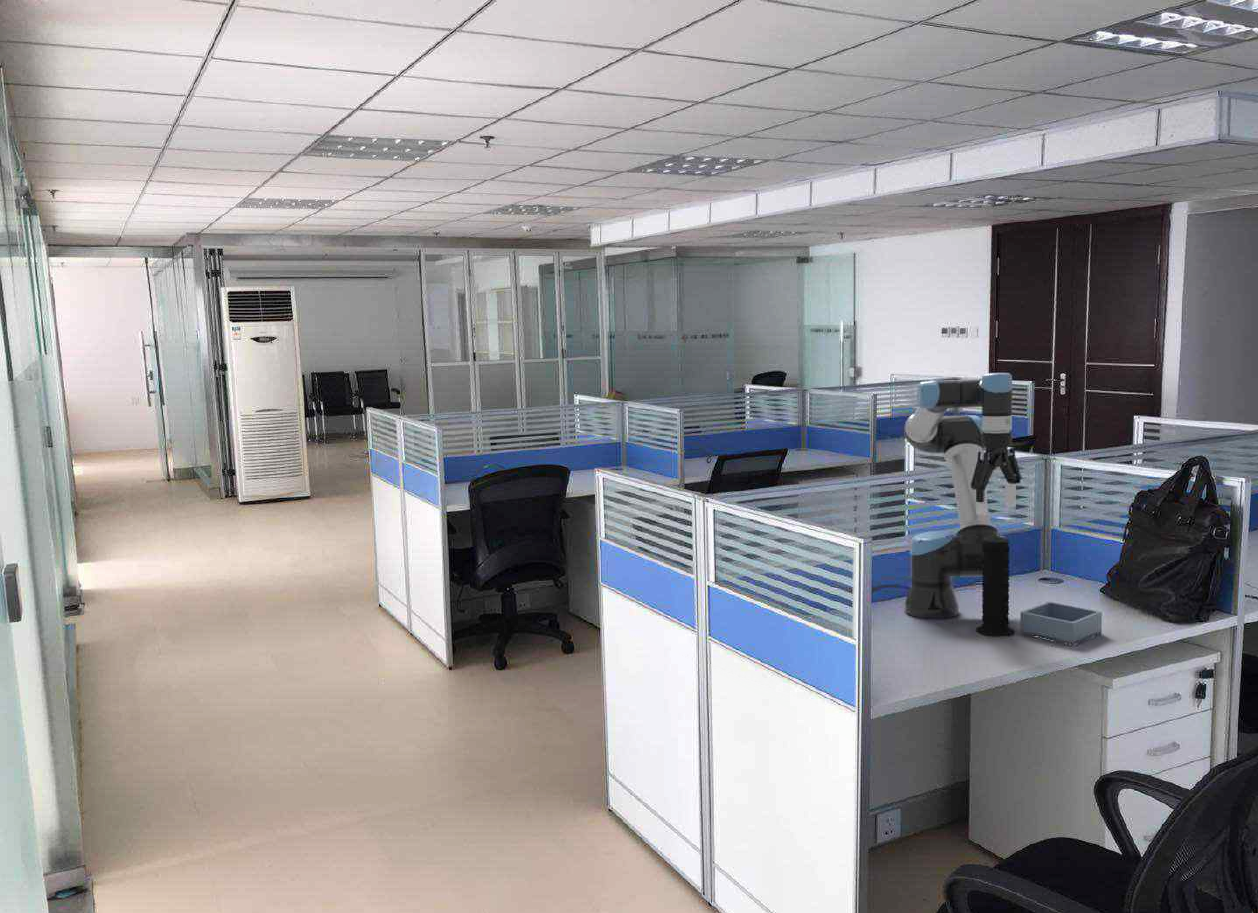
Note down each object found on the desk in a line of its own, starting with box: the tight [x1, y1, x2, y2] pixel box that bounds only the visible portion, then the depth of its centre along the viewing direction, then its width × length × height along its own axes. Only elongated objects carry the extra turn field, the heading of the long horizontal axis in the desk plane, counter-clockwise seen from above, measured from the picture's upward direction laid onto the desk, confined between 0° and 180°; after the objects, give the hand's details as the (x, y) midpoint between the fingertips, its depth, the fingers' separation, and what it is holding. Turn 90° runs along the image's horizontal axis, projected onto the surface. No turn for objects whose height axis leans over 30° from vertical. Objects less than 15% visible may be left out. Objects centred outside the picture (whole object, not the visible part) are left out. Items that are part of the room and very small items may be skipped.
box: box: [1019, 601, 1103, 646], centre depth 258 cm, size 15×15×6 cm
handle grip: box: [975, 535, 1016, 638], centre depth 261 cm, size 10×26×10 cm
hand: (996, 510), depth 259 cm, fingers open, 13 cm apart
